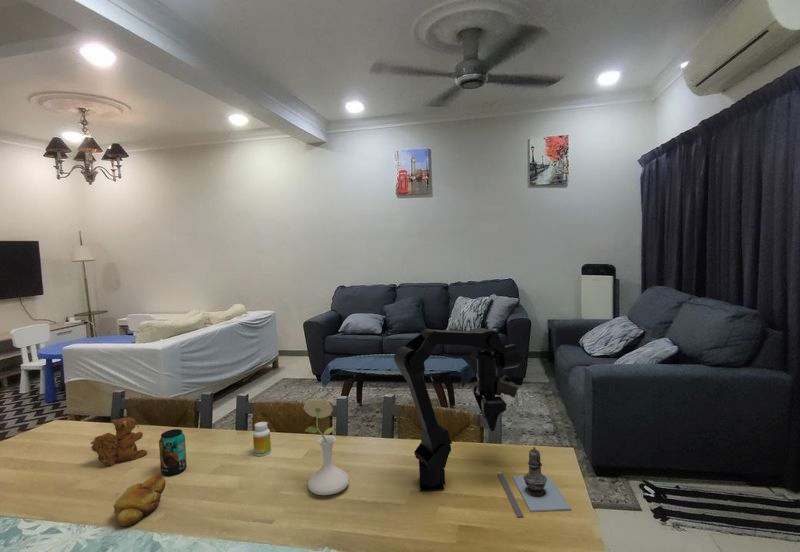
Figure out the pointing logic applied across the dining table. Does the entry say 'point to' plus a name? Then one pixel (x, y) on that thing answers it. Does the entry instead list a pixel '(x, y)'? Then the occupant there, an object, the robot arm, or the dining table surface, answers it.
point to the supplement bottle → (261, 439)
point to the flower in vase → (325, 454)
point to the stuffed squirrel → (118, 443)
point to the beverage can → (172, 452)
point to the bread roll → (139, 500)
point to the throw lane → (535, 504)
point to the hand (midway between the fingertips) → (488, 424)
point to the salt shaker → (535, 475)
